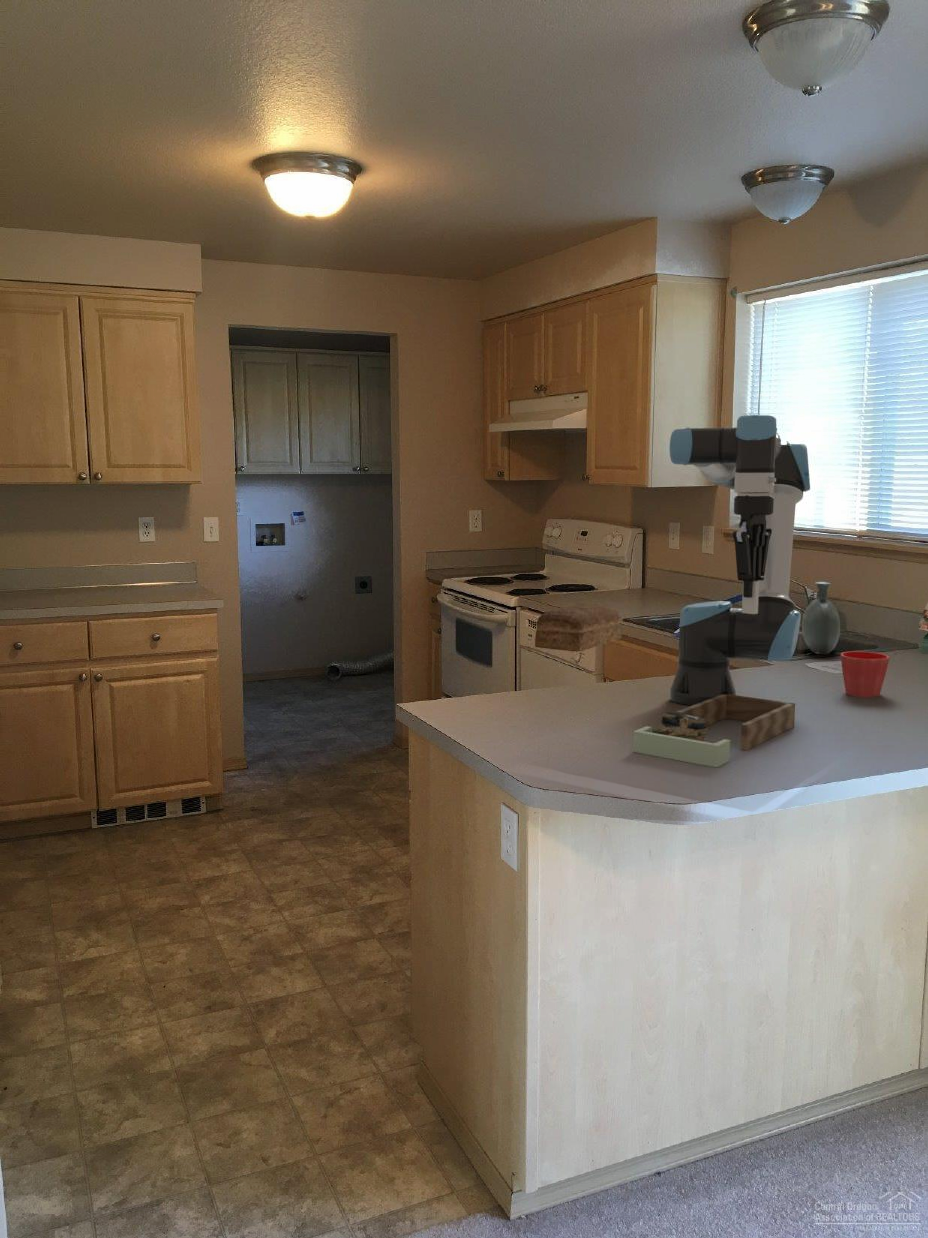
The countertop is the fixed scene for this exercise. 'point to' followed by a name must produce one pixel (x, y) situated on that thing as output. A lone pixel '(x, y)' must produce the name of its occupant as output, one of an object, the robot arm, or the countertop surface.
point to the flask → (821, 623)
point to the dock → (681, 748)
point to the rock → (682, 726)
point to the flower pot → (864, 672)
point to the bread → (578, 627)
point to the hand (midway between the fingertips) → (749, 613)
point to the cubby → (747, 716)
